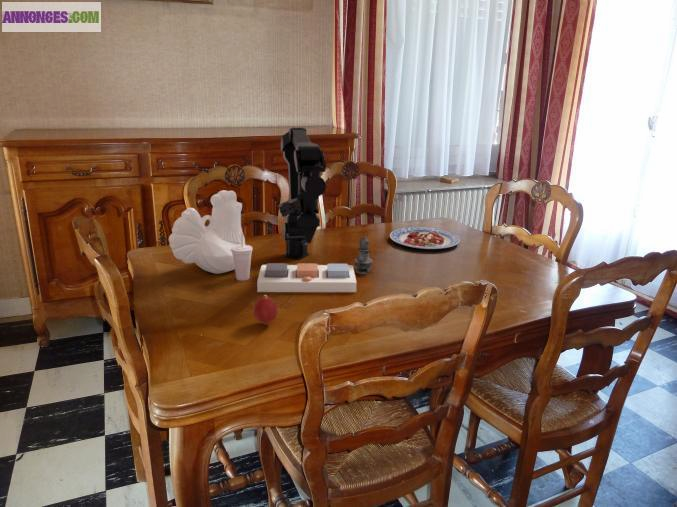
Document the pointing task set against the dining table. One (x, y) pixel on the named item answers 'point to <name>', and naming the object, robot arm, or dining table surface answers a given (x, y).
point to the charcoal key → (276, 270)
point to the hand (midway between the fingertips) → (308, 243)
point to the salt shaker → (363, 257)
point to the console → (306, 281)
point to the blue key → (337, 271)
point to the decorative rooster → (209, 234)
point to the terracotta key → (307, 270)
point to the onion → (265, 310)
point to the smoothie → (242, 260)
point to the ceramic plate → (424, 238)
